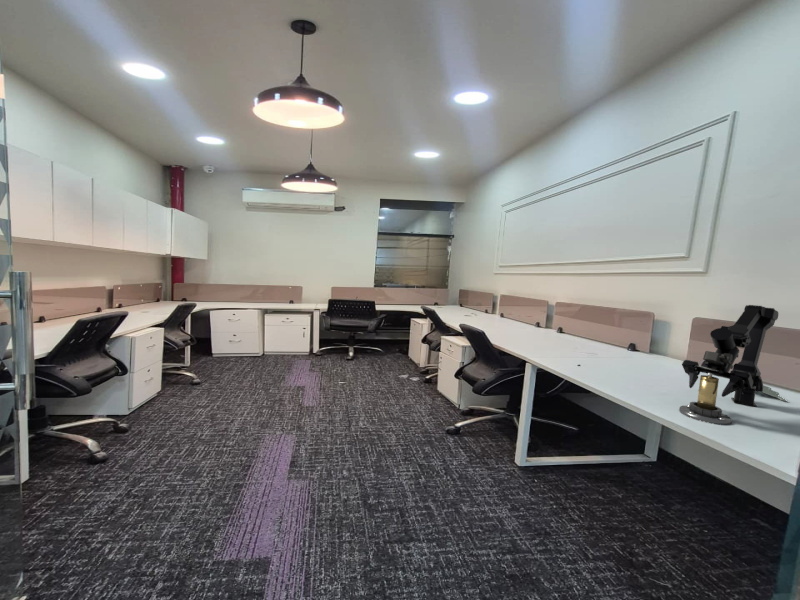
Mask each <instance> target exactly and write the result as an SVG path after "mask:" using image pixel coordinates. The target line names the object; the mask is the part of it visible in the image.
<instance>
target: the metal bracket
mask: <svg viewBox="0 0 800 600" xmlns="http://www.w3.org/2000/svg"><path fill="white" fill-rule="evenodd" d="M755 387H756V386H755ZM762 393H764V394H766V395H769V396H771V397H774V398H777V399H779V400H781V401H783V402H785V401H786V400H787V399H786V398H784V397H783V398H784V399H783V398H782V396H781V395H780V393H779V392H777V391H775V390H772V388H771V387H769V386H767V385H764V384H763V392H762ZM778 395H779V396H778ZM780 396H781V397H780ZM785 399H786V400H785Z"/></svg>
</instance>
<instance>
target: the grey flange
mask: <svg viewBox="0 0 800 600" xmlns="http://www.w3.org/2000/svg"><path fill="white" fill-rule="evenodd" d="M678 411H679V413H681V414H682V415H684V416H685V417H688V418H690V417H691V418H690V419H694V420H696V421H699V420H701V422H703V421H705V422H704V423H707V422H709V423H708V424H712V423H714V425H720V424H721V426H727V425H731V424H732V420H733V419H732V418H731V417H730V416H728V415H727V414H725V413H723V410H722V408H720V407H719V406H716V405H715V410H709V409H704V408H701V407H698V406H697V401H691V402H689V404H687V405H680V406H679V409H678Z"/></svg>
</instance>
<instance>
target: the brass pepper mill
mask: <svg viewBox="0 0 800 600" xmlns="http://www.w3.org/2000/svg"><path fill="white" fill-rule="evenodd" d="M719 379H720V378H718V377H717V376H716V377H715V376H713V375H712V373H708V374H706V375H704V374H702V375H700V378H699V388H698V394H697V401H696V402H697V406H698V407H701V408H704V409H709V410H715V406H716V404H717V396H718V387H719V383H720V382H719Z"/></svg>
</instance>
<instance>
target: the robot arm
mask: <svg viewBox="0 0 800 600" xmlns="http://www.w3.org/2000/svg"><path fill="white" fill-rule="evenodd" d="M778 319H779V312H778V311H777V310H776V309H775V308H774V307H766V306H762V305H758V304H757V305H754V304H747V305H745V307H744V309H743V312H742V313H741V315H740V316H739V317H738V319H737V320H736V321H735V323H734V324H733V325H731V326H726V325H722V326H721V327H719V328H715V329H713V330H711V331H710V337H711V341H712V343H713V347H714V348H716V350H715V352H714V351H709V350H705V352H704V355H703V358H702V359H703V361H704V365H705V366H700V365H699V364H700V363H698V361H695V360H690V359H685V360H683V361H682V363H681V366H682V369H683V371H684V372H685V374H686V375H688V378H689V380H688V383H689V384H688V388H690V389H692V388H693V387H694V385H695V384H696V382H697V381H698V379H699V375H700V374H701V373H703V374H706V375H708V373H712V376H713V377H715V376H716V377H719V378H724V379H727V380H729V381H728V383H726V385H725V387H724V389H723V390H722V392H721V397H723V398H724V397H726V396H728V395H730V394H732V393H734V396H733V397H730V398H731V401H732V402H733V403H735V404H740V405H744V406H745V405H746V406H751V407H756V408H757V407H758V405H757V403H755V399H756V398H755V397H756V393H759V392H760V393H763V385H764V383H763V379H762V376H761V375H762V374H761V371H760V369H759V367H758V363H759V359H760V355H761V351H762V347H763V344H764V340H765V336H766V332H767V331H768V330H770V329H771V328H772V327H773V326H775V323H776V321H777V320H778ZM739 348H743V352H742V356H741V360H740V361H739V362H738V363H735V361H736V359H737V358H739V353H740V349H739ZM755 386H756V387H755Z"/></svg>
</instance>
